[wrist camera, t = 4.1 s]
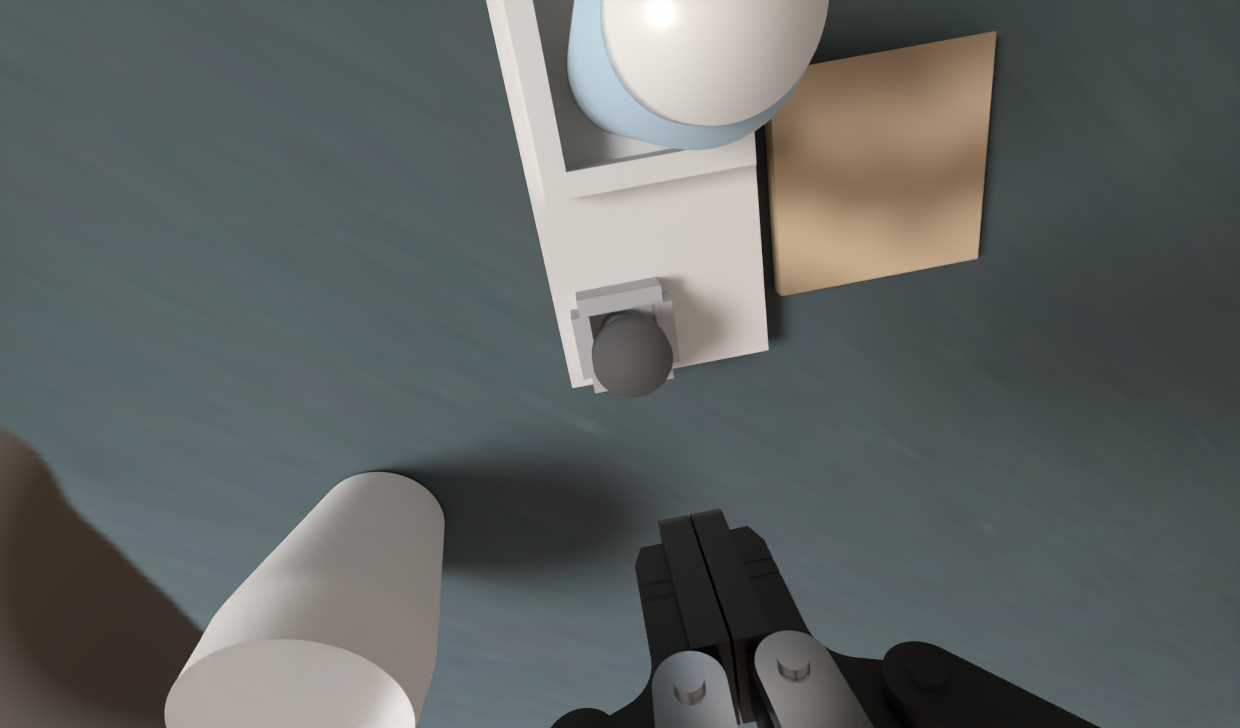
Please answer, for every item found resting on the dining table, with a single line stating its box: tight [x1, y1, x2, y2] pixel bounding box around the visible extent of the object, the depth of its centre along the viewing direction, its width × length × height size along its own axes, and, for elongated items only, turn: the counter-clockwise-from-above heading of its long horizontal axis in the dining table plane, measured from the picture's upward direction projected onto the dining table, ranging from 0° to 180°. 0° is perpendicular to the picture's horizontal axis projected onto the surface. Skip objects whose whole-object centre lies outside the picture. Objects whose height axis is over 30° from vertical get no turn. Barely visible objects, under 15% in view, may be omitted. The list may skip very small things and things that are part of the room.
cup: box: [165, 472, 445, 728], centre depth 27 cm, size 9×9×12 cm
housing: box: [486, 0, 769, 393], centre depth 25 cm, size 18×10×4 cm, turn 9°
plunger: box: [592, 309, 673, 397], centre depth 26 cm, size 3×3×4 cm
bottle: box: [566, 0, 829, 150], centre depth 17 cm, size 5×5×14 cm
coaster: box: [765, 31, 996, 296], centre depth 27 cm, size 10×10×1 cm
